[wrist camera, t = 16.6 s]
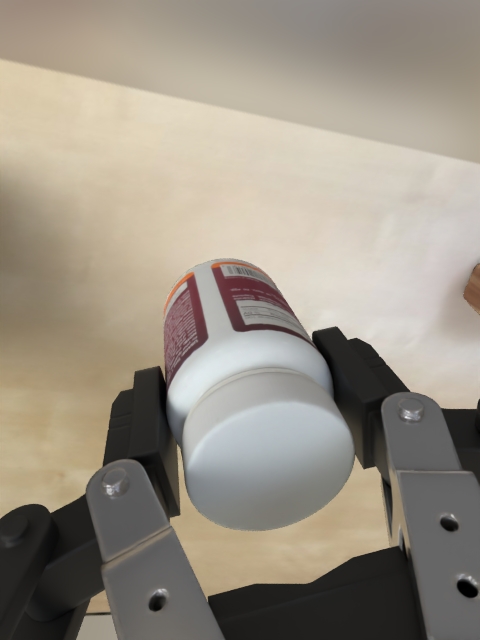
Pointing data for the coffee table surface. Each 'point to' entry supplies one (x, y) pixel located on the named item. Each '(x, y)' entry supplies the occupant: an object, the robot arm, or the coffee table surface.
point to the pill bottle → (250, 401)
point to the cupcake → (473, 290)
